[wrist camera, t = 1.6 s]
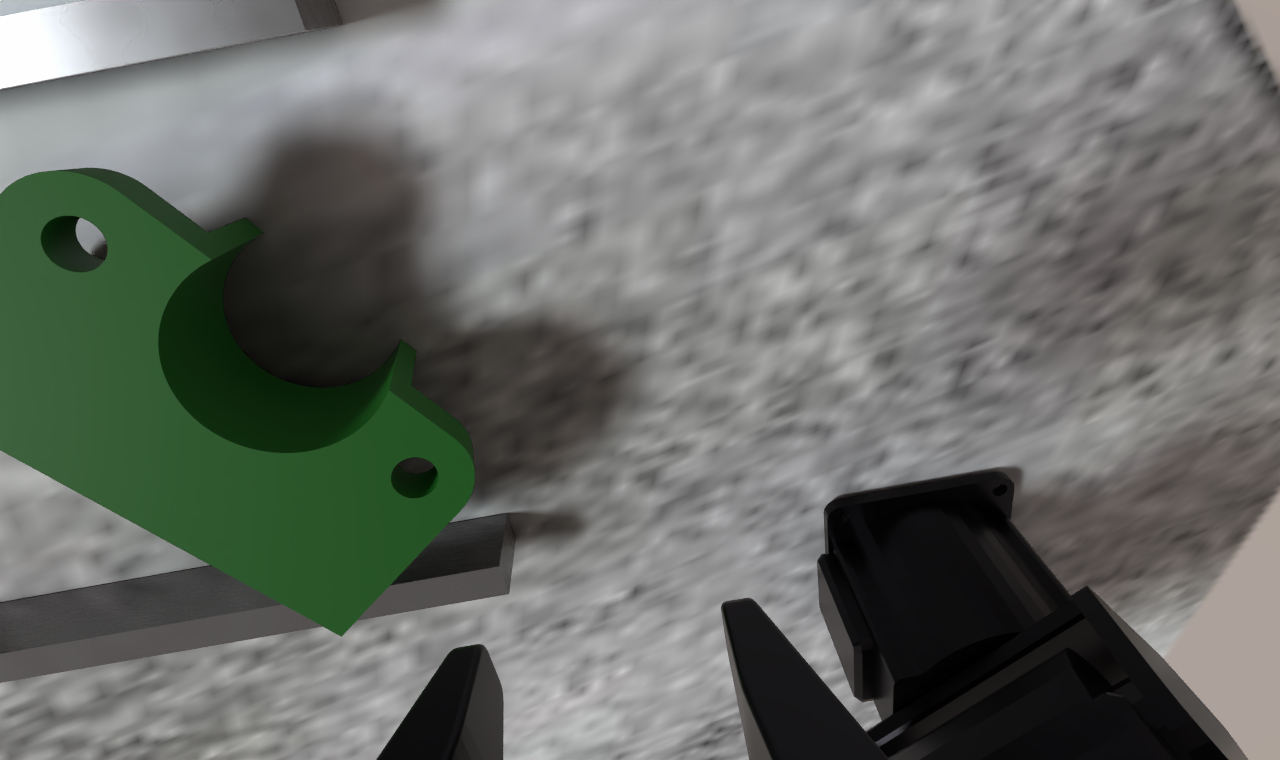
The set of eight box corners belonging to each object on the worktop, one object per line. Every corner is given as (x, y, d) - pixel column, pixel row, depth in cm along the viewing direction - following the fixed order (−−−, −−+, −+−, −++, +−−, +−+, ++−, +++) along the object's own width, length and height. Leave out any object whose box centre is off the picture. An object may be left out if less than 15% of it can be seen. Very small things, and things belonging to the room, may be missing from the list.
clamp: (440, 329, 25) (542, 493, 19) (330, 449, 25) (395, 647, 19) (63, 78, 16) (22, 230, 10) (-96, 266, 17) (-228, 521, 11)
